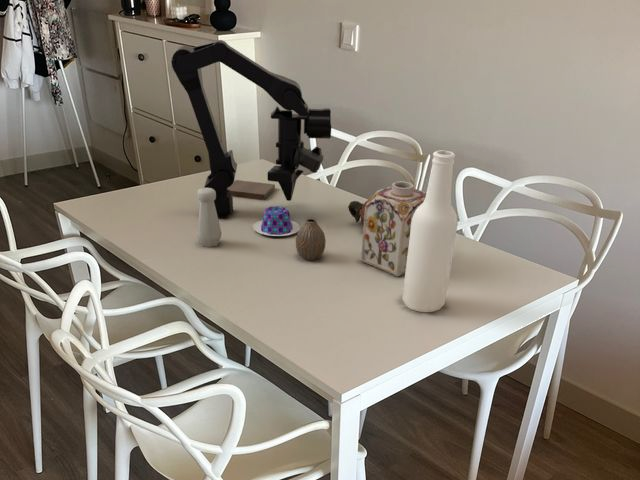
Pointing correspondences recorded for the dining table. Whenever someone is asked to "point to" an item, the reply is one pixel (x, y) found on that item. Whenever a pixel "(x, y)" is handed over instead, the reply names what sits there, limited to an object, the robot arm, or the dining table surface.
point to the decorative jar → (390, 226)
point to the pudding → (276, 223)
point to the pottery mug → (357, 210)
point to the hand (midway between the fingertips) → (289, 200)
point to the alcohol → (432, 240)
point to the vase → (310, 240)
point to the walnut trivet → (251, 189)
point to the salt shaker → (208, 218)
